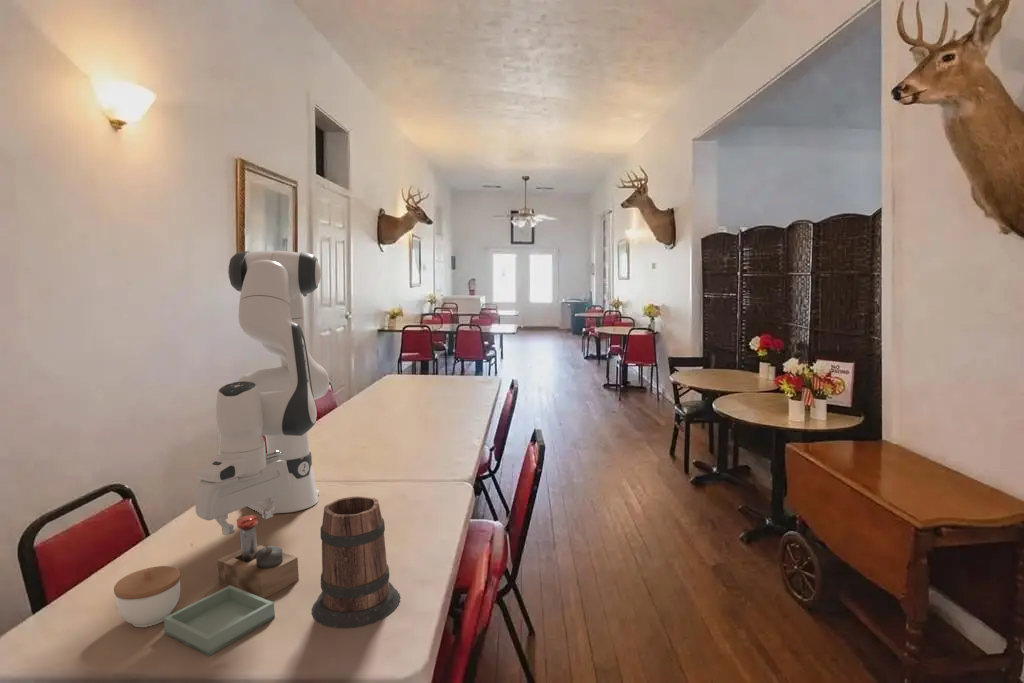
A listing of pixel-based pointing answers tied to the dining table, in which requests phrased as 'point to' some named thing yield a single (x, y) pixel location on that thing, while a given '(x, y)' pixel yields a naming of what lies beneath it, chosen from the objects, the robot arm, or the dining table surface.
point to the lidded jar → (148, 595)
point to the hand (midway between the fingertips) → (248, 525)
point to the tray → (219, 619)
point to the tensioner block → (259, 571)
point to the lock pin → (248, 537)
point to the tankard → (354, 566)
